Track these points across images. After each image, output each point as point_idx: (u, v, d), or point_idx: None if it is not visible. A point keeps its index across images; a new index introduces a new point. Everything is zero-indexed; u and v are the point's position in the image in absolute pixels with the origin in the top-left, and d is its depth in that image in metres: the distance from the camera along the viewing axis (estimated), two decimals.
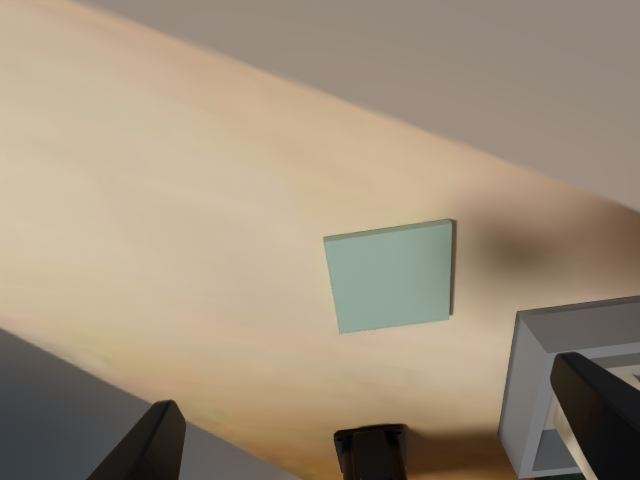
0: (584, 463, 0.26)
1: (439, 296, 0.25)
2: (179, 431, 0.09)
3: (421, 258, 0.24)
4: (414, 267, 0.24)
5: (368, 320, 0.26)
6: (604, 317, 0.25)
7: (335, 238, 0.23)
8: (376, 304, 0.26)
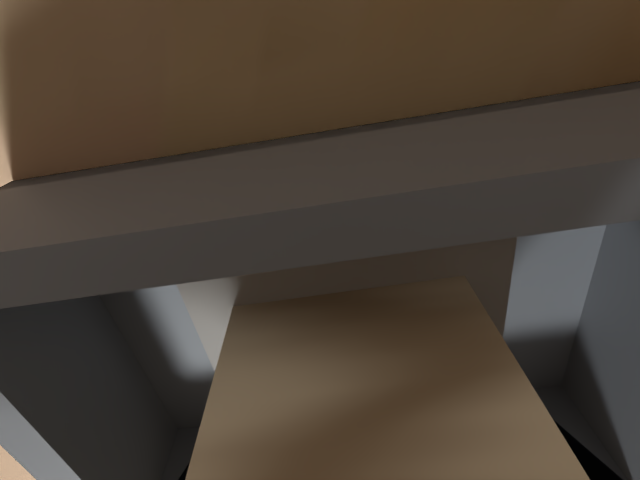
0: None
1: None
2: None
3: None
4: None
5: None
6: None
7: None
8: None
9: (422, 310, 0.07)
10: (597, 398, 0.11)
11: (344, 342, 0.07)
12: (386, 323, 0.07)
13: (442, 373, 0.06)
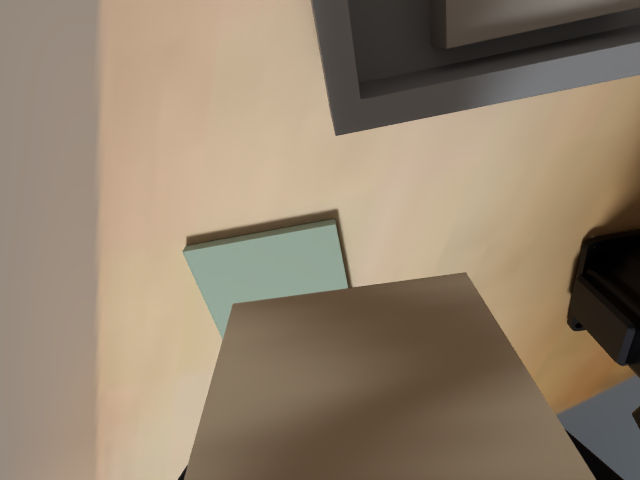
0: None
1: (293, 244, 0.19)
2: None
3: (236, 274, 0.20)
4: (250, 279, 0.20)
5: None
6: None
7: None
8: None
9: (423, 307, 0.07)
10: None
11: (345, 339, 0.07)
12: (387, 320, 0.07)
13: (444, 370, 0.06)
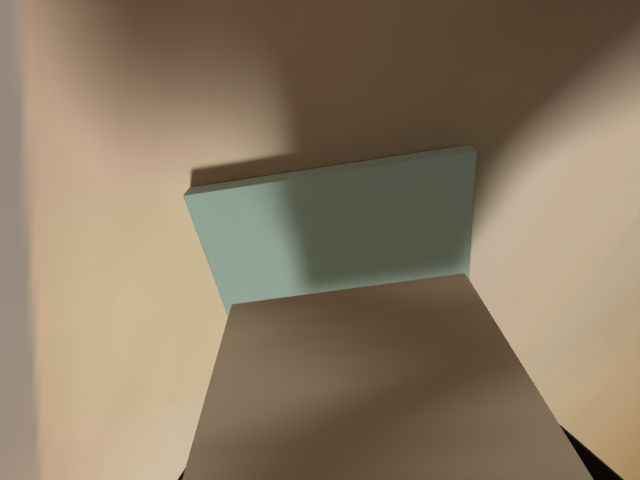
0: None
1: (391, 189, 0.10)
2: None
3: (279, 242, 0.11)
4: (302, 253, 0.11)
5: None
6: None
7: None
8: None
9: (422, 307, 0.07)
10: None
11: (343, 340, 0.07)
12: (386, 320, 0.07)
13: (443, 371, 0.06)
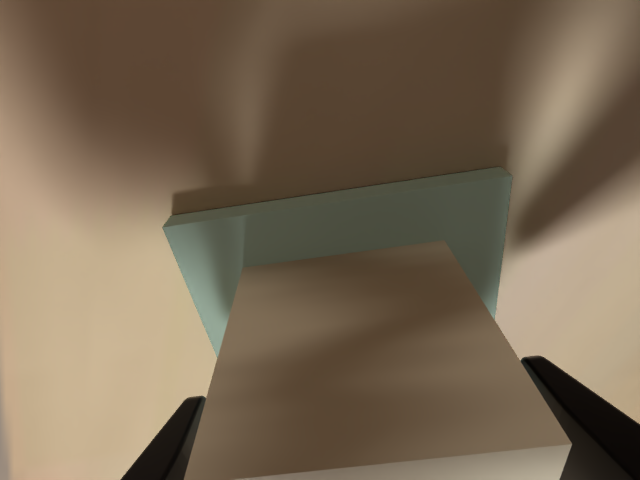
0: None
1: (408, 219, 0.09)
2: None
3: None
4: None
5: None
6: None
7: None
8: None
9: (406, 266, 0.08)
10: None
11: (339, 291, 0.08)
12: (375, 277, 0.08)
13: (421, 311, 0.07)
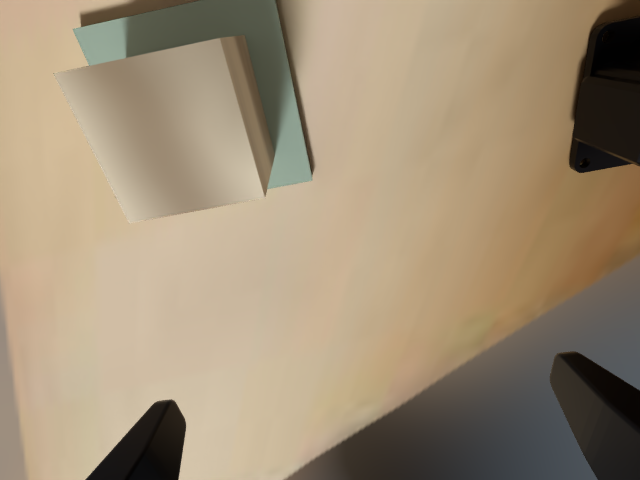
0: None
1: (218, 19, 0.14)
2: (179, 431, 0.09)
3: None
4: None
5: (282, 139, 0.17)
6: None
7: None
8: None
9: None
10: None
11: None
12: None
13: None
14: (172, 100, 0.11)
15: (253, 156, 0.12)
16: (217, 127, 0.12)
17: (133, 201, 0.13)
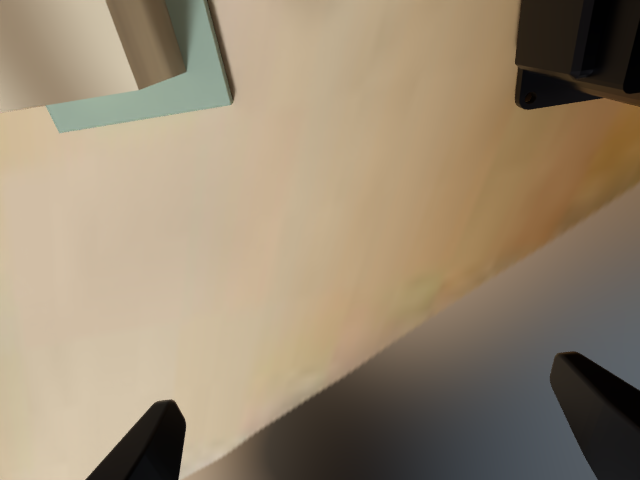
0: None
1: None
2: (179, 431, 0.09)
3: None
4: None
5: (193, 53, 0.15)
6: None
7: (53, 115, 0.16)
8: None
9: None
10: None
11: None
12: None
13: None
14: None
15: (119, 34, 0.10)
16: None
17: None
